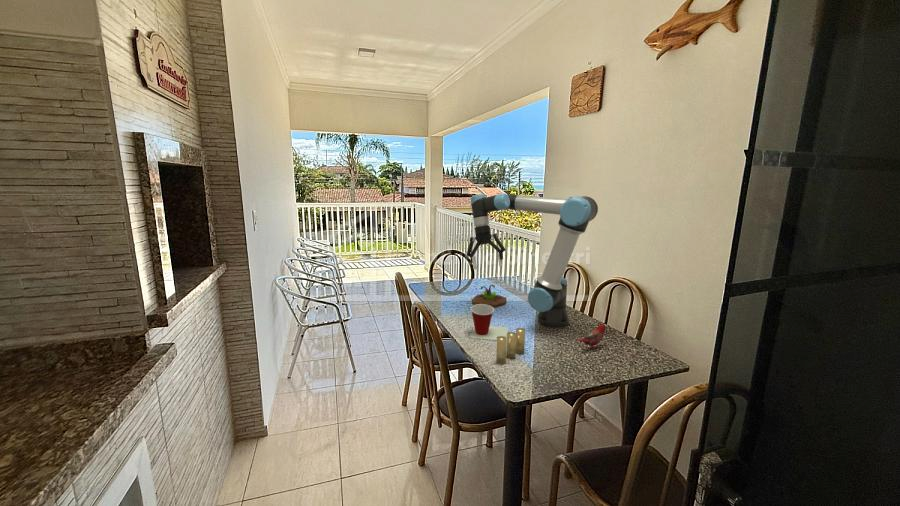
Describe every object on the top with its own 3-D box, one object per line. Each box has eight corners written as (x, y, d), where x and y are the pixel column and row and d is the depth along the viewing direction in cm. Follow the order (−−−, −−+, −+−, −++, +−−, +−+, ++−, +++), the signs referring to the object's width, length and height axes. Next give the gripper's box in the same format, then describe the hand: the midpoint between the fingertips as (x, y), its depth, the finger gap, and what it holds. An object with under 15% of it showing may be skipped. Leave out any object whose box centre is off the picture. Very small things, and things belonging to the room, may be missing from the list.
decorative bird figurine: (607, 346, 156) (609, 324, 154) (577, 355, 148) (579, 331, 146) (602, 343, 159) (603, 321, 157) (572, 352, 150) (573, 329, 149)
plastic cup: (477, 339, 163) (477, 314, 160) (466, 330, 173) (466, 306, 170) (498, 334, 167) (498, 310, 165) (486, 325, 177) (486, 302, 174)
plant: (501, 310, 203) (501, 290, 201) (468, 305, 211) (468, 287, 209) (510, 300, 221) (510, 282, 219) (479, 296, 229) (479, 278, 227)
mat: (508, 328, 177) (508, 327, 177) (505, 341, 161) (505, 340, 161) (475, 325, 180) (475, 324, 180) (469, 338, 165) (469, 337, 165)
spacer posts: (526, 352, 150) (527, 329, 149) (501, 365, 140) (502, 340, 138) (519, 349, 153) (519, 327, 151) (494, 362, 143) (494, 337, 141)
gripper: (507, 221, 182) (514, 264, 182) (462, 229, 193) (468, 269, 193) (503, 221, 175) (509, 265, 175) (456, 229, 186) (462, 271, 186)
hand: (487, 268), depth 184 cm, fingers open, 13 cm apart
